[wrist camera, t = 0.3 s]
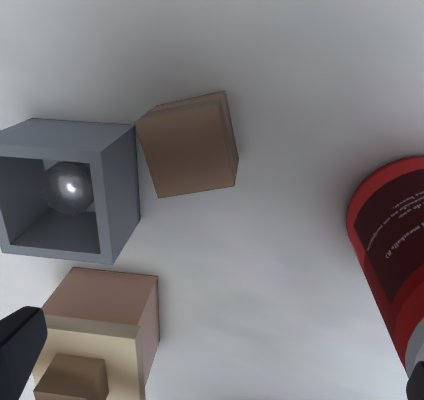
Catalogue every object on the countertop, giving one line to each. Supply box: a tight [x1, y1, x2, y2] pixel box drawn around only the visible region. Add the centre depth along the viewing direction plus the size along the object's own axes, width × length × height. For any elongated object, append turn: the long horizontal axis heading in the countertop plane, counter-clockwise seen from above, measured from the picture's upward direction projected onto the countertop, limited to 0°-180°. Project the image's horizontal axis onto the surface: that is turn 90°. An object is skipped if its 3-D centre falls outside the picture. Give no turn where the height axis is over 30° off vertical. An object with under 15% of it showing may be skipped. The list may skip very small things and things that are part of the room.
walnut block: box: [134, 91, 239, 198], centre depth 19 cm, size 4×4×4 cm
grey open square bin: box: [0, 118, 140, 265], centre depth 20 cm, size 6×6×5 cm
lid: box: [32, 314, 146, 400], centre depth 21 cm, size 7×7×4 cm
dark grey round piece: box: [39, 161, 94, 215], centre depth 21 cm, size 3×3×2 cm
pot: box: [41, 267, 160, 385], centre depth 25 cm, size 6×6×5 cm
